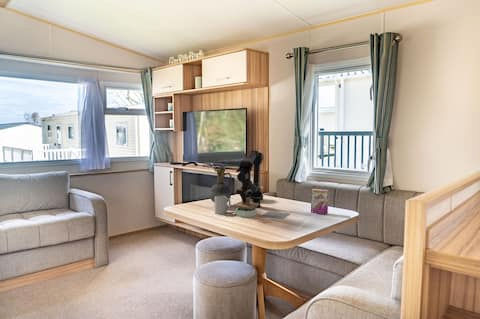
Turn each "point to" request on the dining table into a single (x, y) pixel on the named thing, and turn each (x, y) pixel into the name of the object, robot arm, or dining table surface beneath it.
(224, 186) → the pitcher
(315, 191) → the candy bar box
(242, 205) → the walnut lid
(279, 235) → the dining table surface
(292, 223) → the dining table surface
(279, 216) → the rubber mat
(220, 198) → the mug
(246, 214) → the sage dish
